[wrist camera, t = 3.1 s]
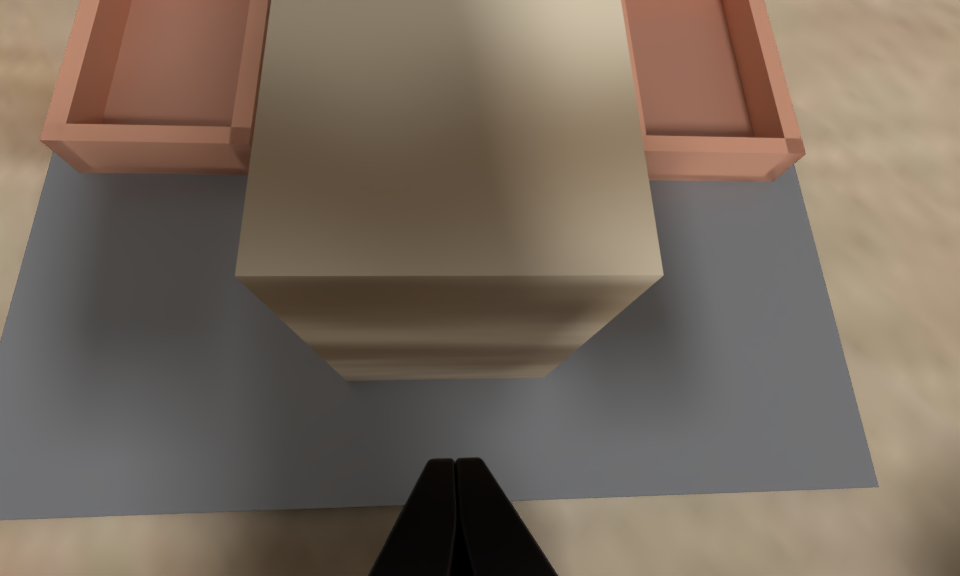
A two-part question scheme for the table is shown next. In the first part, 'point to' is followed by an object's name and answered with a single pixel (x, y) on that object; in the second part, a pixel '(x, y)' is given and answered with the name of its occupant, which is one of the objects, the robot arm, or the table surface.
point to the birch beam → (447, 183)
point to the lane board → (404, 403)
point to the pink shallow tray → (710, 91)
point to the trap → (159, 87)
